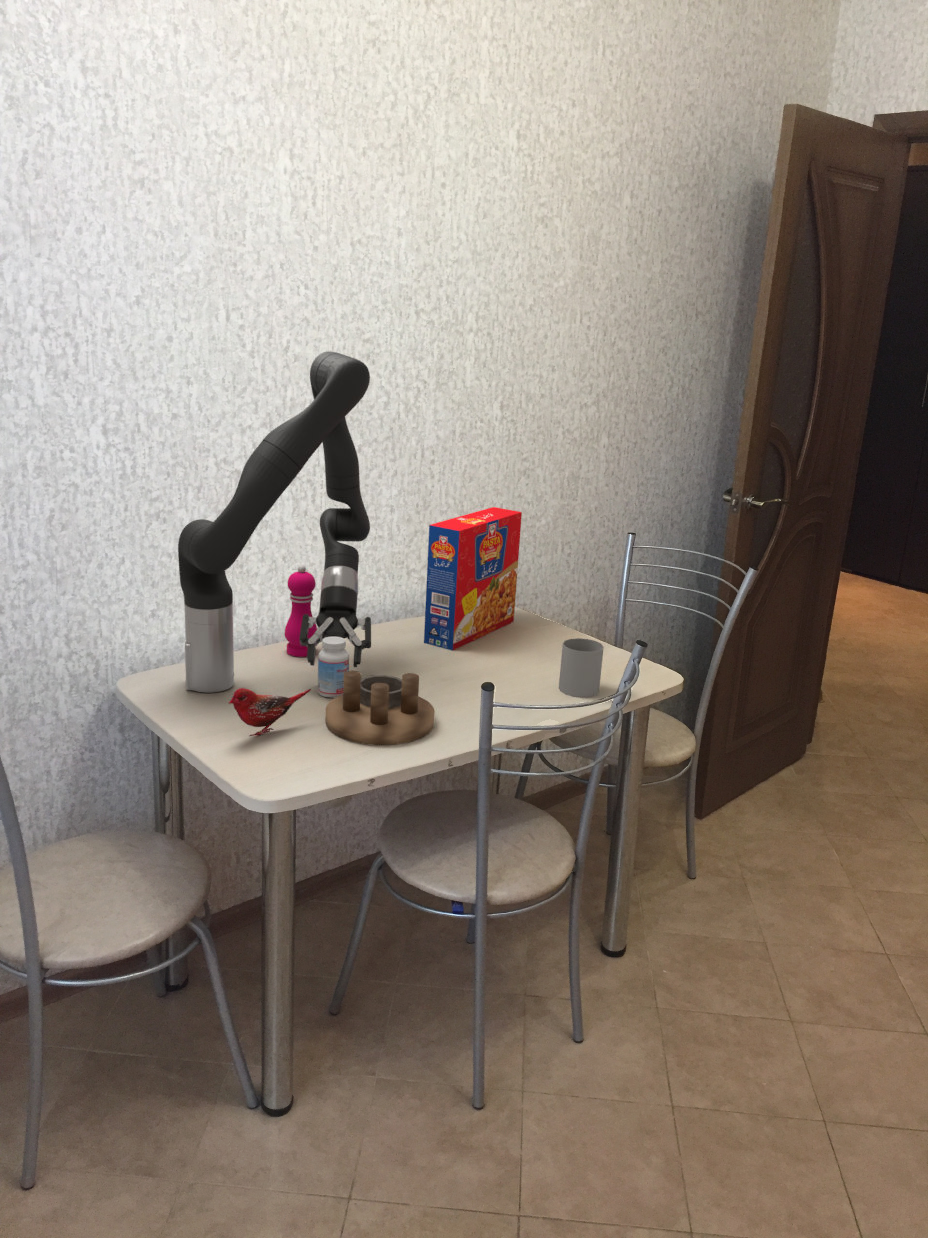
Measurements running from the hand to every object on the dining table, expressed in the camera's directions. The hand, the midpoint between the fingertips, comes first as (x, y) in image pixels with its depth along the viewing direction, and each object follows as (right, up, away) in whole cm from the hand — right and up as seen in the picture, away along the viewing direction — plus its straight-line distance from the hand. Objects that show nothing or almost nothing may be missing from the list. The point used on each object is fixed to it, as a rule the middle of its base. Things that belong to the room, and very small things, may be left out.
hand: (333, 664), depth 202 cm
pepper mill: (-10, +2, +24) cm, 26 cm away
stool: (+10, -10, -10) cm, 17 cm away
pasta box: (+27, +6, +43) cm, 52 cm away
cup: (+50, -6, +11) cm, 51 cm away
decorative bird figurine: (-9, -12, -17) cm, 22 cm away
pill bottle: (0, -6, +2) cm, 6 cm away
